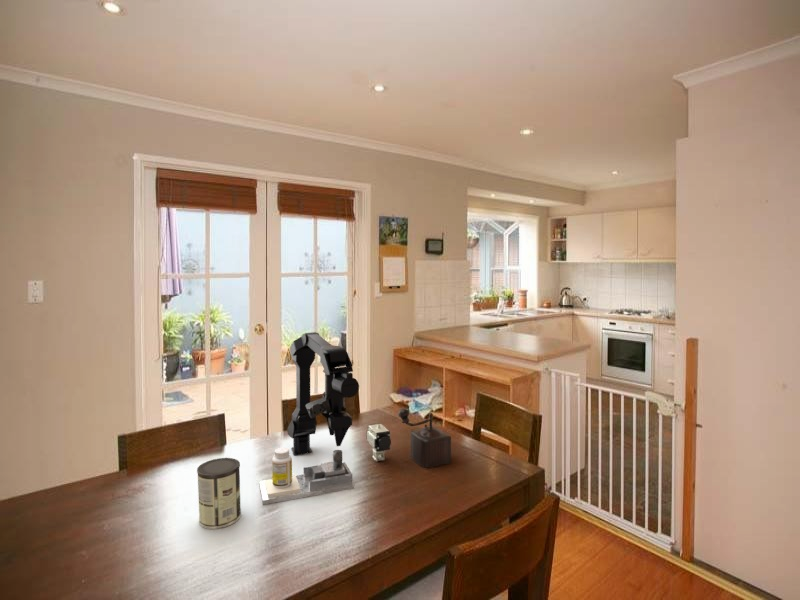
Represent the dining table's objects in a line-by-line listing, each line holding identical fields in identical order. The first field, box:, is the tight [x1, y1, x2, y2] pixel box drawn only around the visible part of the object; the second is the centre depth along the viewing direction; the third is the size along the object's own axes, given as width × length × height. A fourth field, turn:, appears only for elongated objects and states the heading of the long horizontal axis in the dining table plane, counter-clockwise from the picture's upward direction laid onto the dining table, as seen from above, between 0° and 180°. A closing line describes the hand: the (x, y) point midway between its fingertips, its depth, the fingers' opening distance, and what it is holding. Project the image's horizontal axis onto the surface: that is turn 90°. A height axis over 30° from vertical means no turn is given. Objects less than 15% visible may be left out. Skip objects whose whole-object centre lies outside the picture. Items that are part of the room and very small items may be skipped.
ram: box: [312, 449, 345, 480], centre depth 138 cm, size 7×9×8 cm
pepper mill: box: [397, 407, 452, 469], centre depth 154 cm, size 16×11×18 cm
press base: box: [259, 461, 355, 505], centre depth 136 cm, size 12×26×4 cm, turn 111°
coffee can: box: [196, 457, 242, 530], centre depth 119 cm, size 10×10×14 cm
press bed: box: [264, 474, 300, 497], centre depth 134 cm, size 9×9×1 cm
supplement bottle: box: [271, 447, 293, 488], centre depth 133 cm, size 6×6×10 cm
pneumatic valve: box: [365, 422, 392, 463], centre depth 156 cm, size 6×12×12 cm, turn 23°
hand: (335, 440), depth 139 cm, fingers open, 9 cm apart
